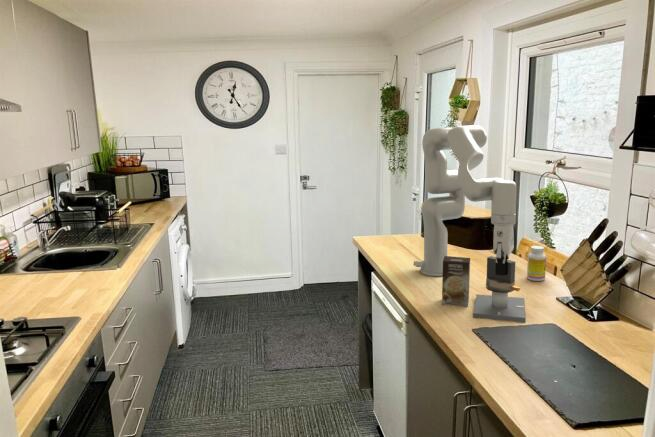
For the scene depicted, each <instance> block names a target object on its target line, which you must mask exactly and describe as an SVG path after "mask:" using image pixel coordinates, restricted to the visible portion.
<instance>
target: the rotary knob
mask: <svg viewBox="0 0 655 437" xmlns="http://www.w3.org/2000/svg"><path fill="white" fill-rule="evenodd" d="M486 258H487V259H486V279H485V280H486V281H485V283H486V284H485V288H486V289H487V290H488V291H490V292H491V293H492V292H497V293H508V294H509V293H512V292H514V291H515V292H519V291H521V287H520V286H518V285H517V286H516V285H515V283H516V282H515V281H516V277H515V276H516V261H515V260H510V259H505V263H506V275H505V276H503V275H496V274H495V272H496V256H493V255H491V256H487V257H486Z"/></svg>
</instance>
